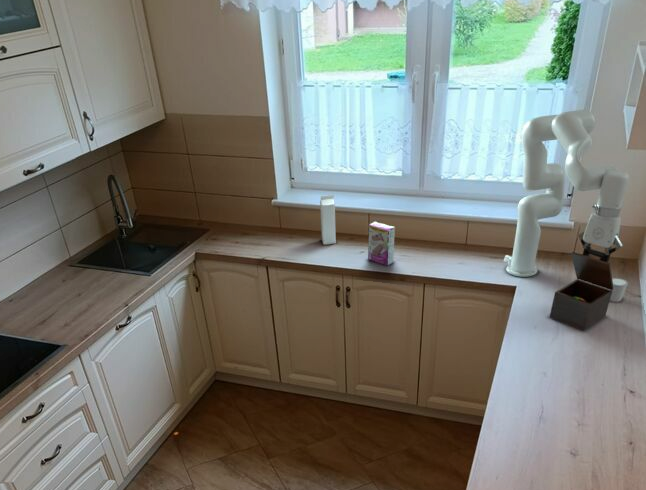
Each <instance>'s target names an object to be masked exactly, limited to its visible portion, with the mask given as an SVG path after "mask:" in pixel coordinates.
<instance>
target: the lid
mask: <svg viewBox="0 0 646 490" xmlns="http://www.w3.org/2000/svg"><path fill="white" fill-rule="evenodd" d="M604 254H605V252H602V251H600V250H597V249H592V248H591V249H589V250H588V253H587V254H586V256H585V255H583V253H582V254H581V253H578V252H574V251H572V252H571V259H572V264H573V267H574V268H573V269H574V272H575V276H576V279H579V280H581V281H584V282H588V283H591V284H594V285H597V286H600V287H603V288H606V289H610V290H613V289H614V288H613V281H612V278H613V276H612V274H613V273H612V266H611V262H605V261H602V258H603V255H604ZM590 255H591V256H595V257H597V258H599V259H597V258H594V257H591V256H590ZM588 256H589V257H588Z"/></svg>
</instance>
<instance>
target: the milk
mask: <svg viewBox="0 0 646 490" xmlns="http://www.w3.org/2000/svg"><path fill="white" fill-rule="evenodd" d="M319 205H320V229H321V241H322V244H323V245H332V244H333V245H334V244H336V243H337V239H336V238H337V237H336V204H335V197H334V195H322V196H320V201H319Z"/></svg>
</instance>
